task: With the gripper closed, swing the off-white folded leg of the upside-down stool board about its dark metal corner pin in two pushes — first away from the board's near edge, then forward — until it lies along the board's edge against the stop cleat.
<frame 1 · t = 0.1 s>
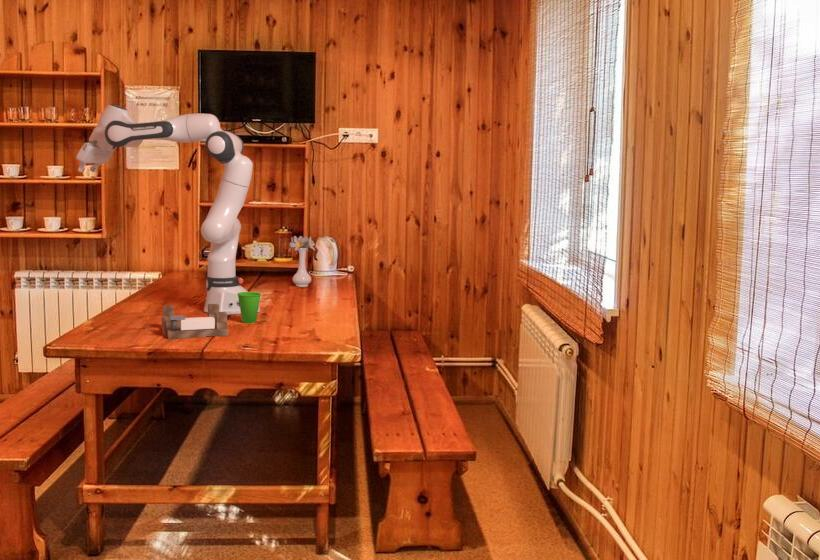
hand: (86, 171, 321), 54 cm above the table, tool tilted 30°, fingers open, 8 cm apart
cup: (249, 322, 303), on the table
hinged leg: (192, 322, 275), point 5 cm above the table, hinge at 0.0°
flower vase: (300, 286, 395), on the table
stool board: (194, 331, 283), on the table
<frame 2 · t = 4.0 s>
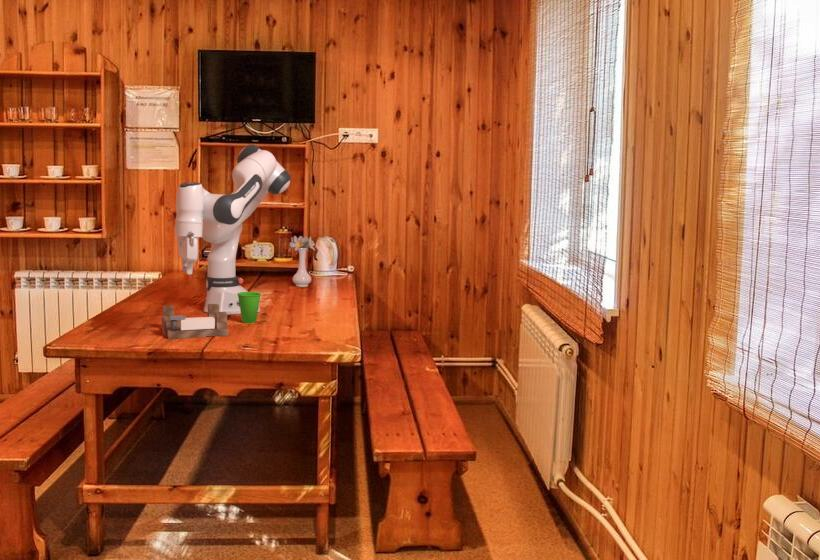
hand: (187, 272, 265), 23 cm above the table, tool pointing down, fingers open, 8 cm apart
nothing on the table moved.
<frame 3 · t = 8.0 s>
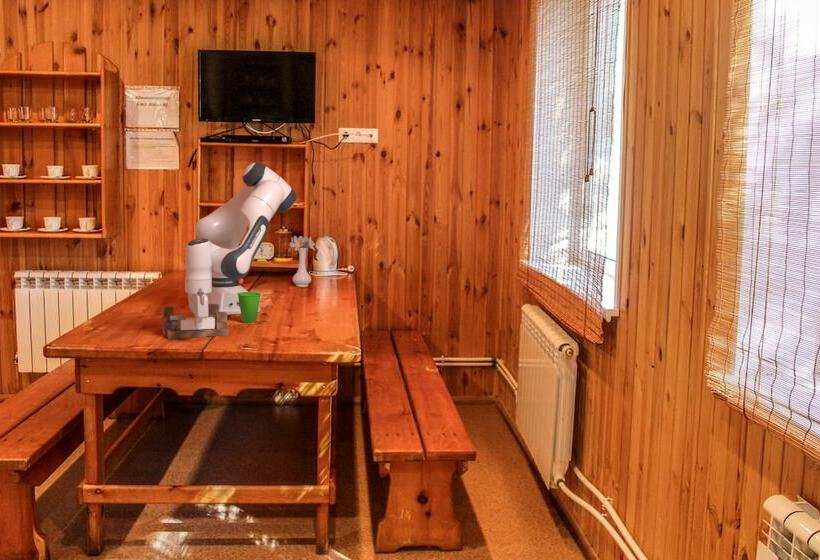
hand: (198, 326, 272), 4 cm above the table, tool pointing down, fingers closed
hinged leg: (192, 322, 275), point 5 cm above the table, hinge at 0.0°, touching gripper
everything else where it was.
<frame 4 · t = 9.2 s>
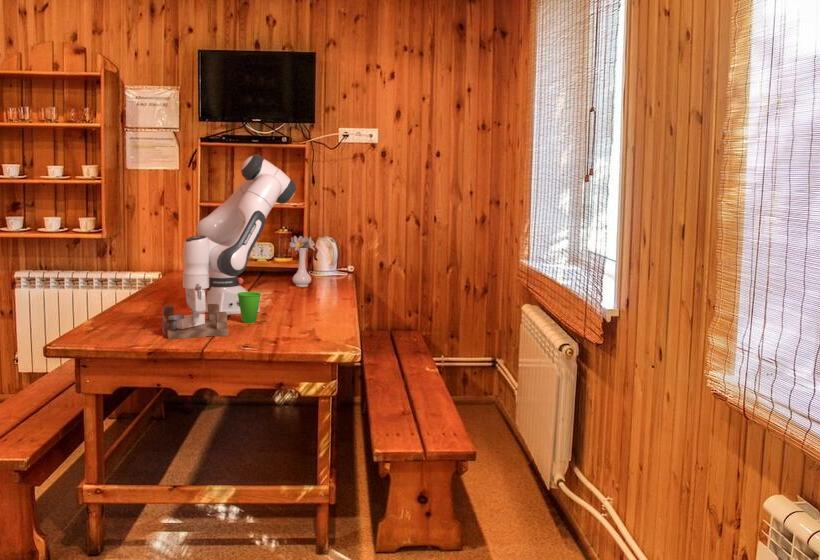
hand: (195, 322, 278), 5 cm above the table, tool pointing down, fingers closed
hinged leg: (186, 320, 278), point 5 cm above the table, hinge at 39.5°, touching gripper
everything else where it was.
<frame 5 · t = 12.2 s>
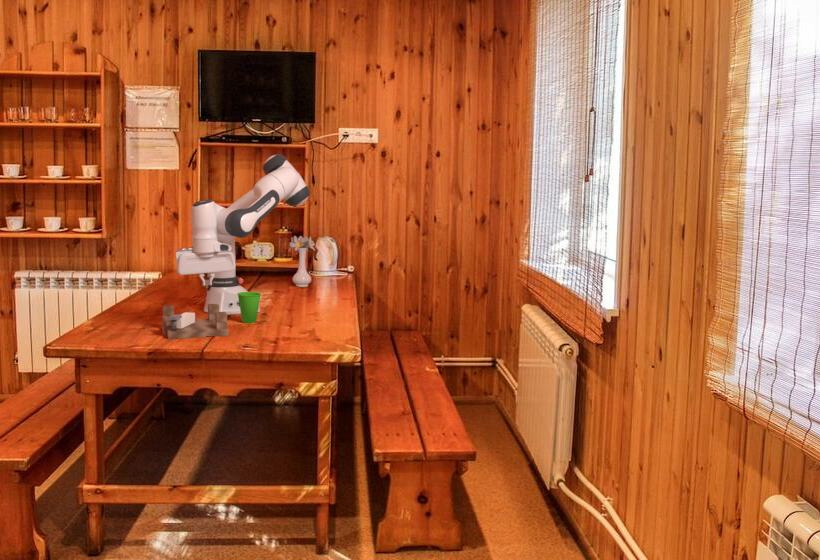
hand: (207, 285, 282), 17 cm above the table, tool pointing down, fingers closed
hinged leg: (181, 319, 278), point 5 cm above the table, hinge at 58.3°
everything else where it was.
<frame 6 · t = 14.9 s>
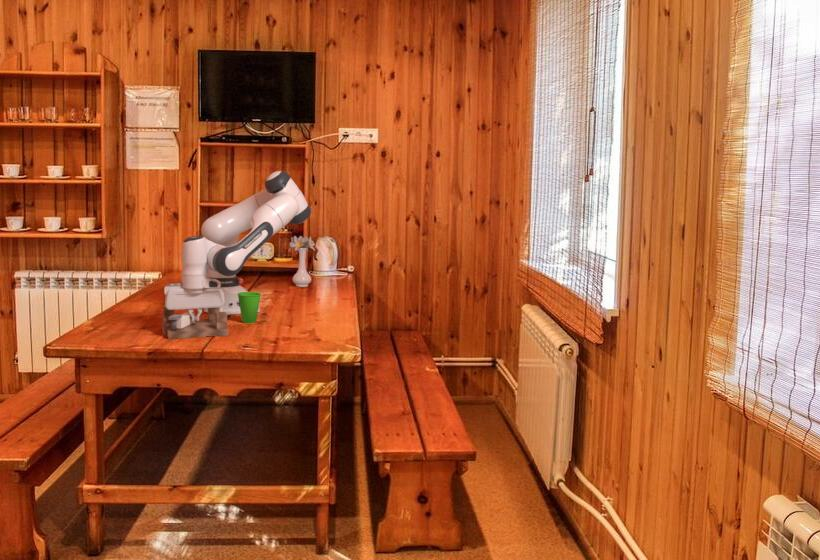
hand: (195, 321, 282), 4 cm above the table, tool pointing down, fingers closed
hinged leg: (181, 319, 278), point 5 cm above the table, hinge at 58.7°, touching gripper
everything else where it was.
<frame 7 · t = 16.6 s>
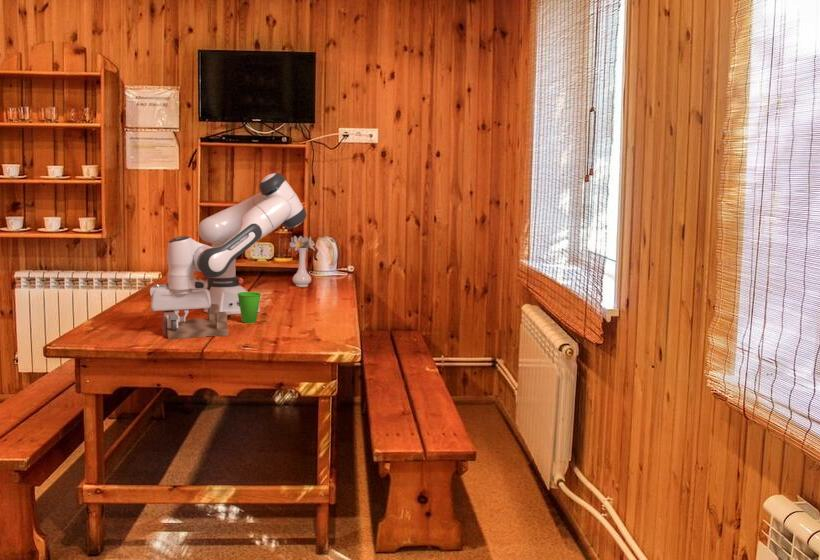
hand: (181, 321, 280), 4 cm above the table, tool pointing down, fingers closed
hinged leg: (171, 319, 278), point 5 cm above the table, hinge at 89.8°, touching gripper
everything else where it was.
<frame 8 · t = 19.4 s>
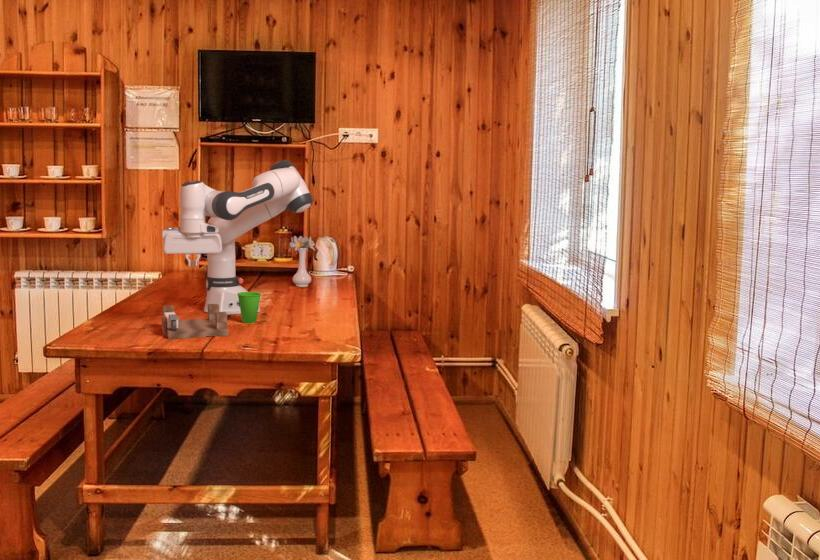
hand: (192, 266, 283), 23 cm above the table, tool pointing down, fingers closed
hinged leg: (171, 319, 278), point 5 cm above the table, hinge at 89.8°
everything else where it was.
at the end: hinged leg at +90° (first picture: +0°) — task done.
